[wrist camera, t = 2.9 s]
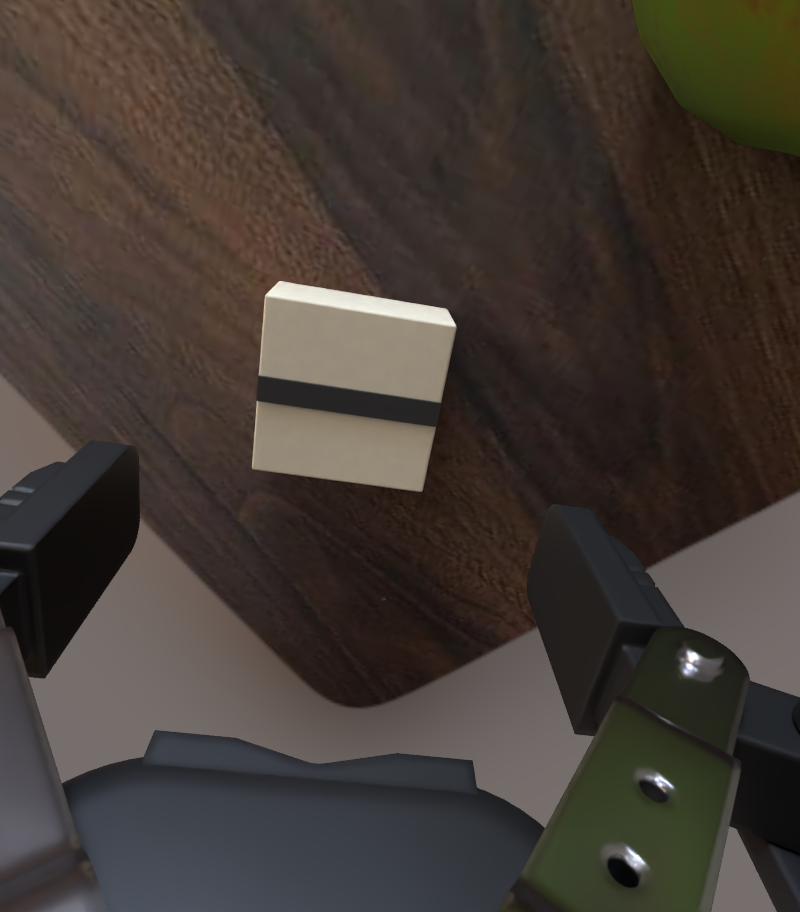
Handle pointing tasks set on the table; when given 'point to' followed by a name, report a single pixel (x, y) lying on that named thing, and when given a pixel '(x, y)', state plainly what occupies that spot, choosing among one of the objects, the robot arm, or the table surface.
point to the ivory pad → (349, 386)
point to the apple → (730, 64)
